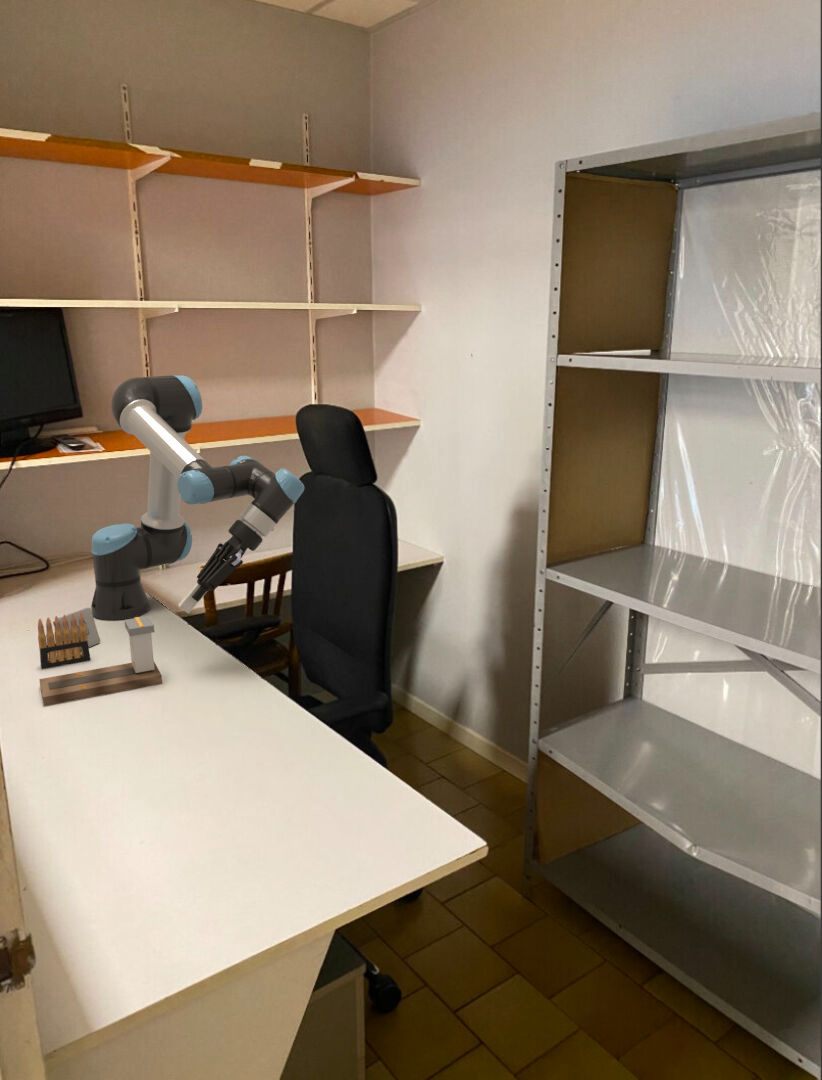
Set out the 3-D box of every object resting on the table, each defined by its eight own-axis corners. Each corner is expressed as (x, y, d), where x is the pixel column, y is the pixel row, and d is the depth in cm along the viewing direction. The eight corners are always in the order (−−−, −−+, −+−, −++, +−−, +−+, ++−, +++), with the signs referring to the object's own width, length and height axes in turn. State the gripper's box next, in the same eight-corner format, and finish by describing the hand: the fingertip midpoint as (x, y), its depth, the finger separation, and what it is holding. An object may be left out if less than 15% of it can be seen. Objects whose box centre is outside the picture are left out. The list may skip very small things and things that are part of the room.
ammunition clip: (41, 669, 189) (35, 620, 186) (40, 666, 191) (34, 618, 188) (90, 660, 194) (85, 612, 191) (89, 658, 196) (84, 610, 193)
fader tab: (152, 659, 188) (148, 615, 185) (157, 670, 183) (154, 624, 180) (128, 664, 186) (124, 619, 183) (133, 674, 180) (129, 628, 177)
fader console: (153, 666, 190) (152, 658, 190) (162, 683, 182) (161, 674, 181) (40, 687, 180) (39, 678, 179) (44, 706, 171) (42, 696, 171)
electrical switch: (70, 656, 196) (63, 619, 195) (55, 654, 199) (48, 617, 197) (101, 643, 204) (95, 607, 202) (87, 641, 207) (80, 606, 205)
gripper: (272, 544, 184) (203, 627, 181) (254, 532, 195) (189, 610, 192) (248, 524, 180) (176, 608, 177) (231, 512, 192) (164, 591, 188)
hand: (183, 609), depth 185 cm, fingers closed
